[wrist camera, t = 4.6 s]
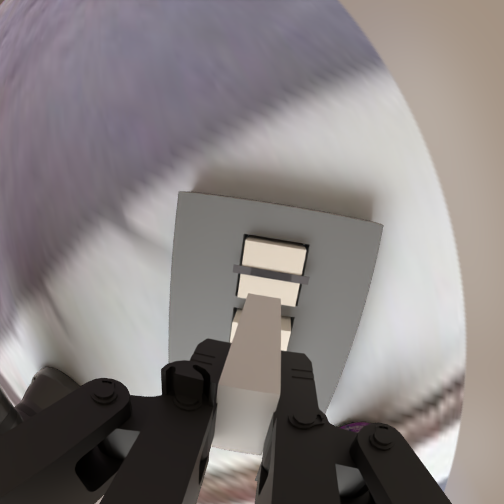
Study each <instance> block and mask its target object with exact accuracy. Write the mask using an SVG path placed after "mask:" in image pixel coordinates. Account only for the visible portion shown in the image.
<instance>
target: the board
mask: <svg viewBox="0 0 504 504" xmlns="http://www.w3.org/2000/svg"><path fill="white" fill-rule="evenodd" d="M382 230H383V225H382V224H379V223H376V222H372V221H368V220H363V219H358V218H353V217H348V216H343V215H338V214H333V213H328V212H322V211H317V210H311V209H306V208H300V207H294V206H288V205H282V204H276V203H270V202H263V201H257V200H250V199H243V198H236V197H229V196H221V195H214V194H206V193H197V192H181V191H179V194H178V203H177V211H176V221H175V231H174V241H173V254H172V267H171V284H170V305H169V363H172V362H174V361H182V360H188V361H190V358H191V356H192V355H193V354H194V351H195V349H196V347H197V345H198V344H199V343H201V342H202V341H204V340H206V339H207V338H209V339H214V340H219V341H224V342H229V343H230V337H231V329H232V322H233V319H234V317H235V314H236V312H237V308H241V309H243V307H244V304H245V301H246V299H245V298H240V297H238V290H239V282H240V275H241V274H239V273H233V265H234V264H236V265H241V266H242V261H243V254H244V247H245V240H246V239H247V236H248V234H249V235H256V236H262V237H268V238H274V239H280V240H286V241H292V242H298V243H304V244H305V248H306V255H305V260H304V265H303V270H302V275H301V276H307V277H310V278H309V282H308V285H305V284H300V285H299V290H298V295H297V299H296V304H295V307H293V306H287V305H281V315H282V316H289V317H291V318H290V320H291V334H290V338H289V342H288V347H287V351H289V352H297V353H305V354H306V356H307V357H308V358H309V359H310V361H311V362H312V368H313V374H314V380H315V386H316V393H317V399H318V406H319V409H320V410H321V411H322V412H323V413H324V414H325V413H326V410H327V408H328V406H329V403H330V401H331V399H332V396H333V394H334V392H335V389H336V387H337V384H338V382H339V379H340V377H341V374H342V371H343V369H344V366H345V363H346V361H347V358H348V355H349V352H350V349H351V347H352V344H353V341H354V338H355V335H356V332H357V328H358V325H359V322H360V319H361V316H362V312H363V309H364V305H365V302H366V298H367V295H368V291H369V287H370V283H371V280H372V276H373V272H374V267H375V263H376V259H377V254H378V250H379V245H380V240H381V235H382Z"/></svg>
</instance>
